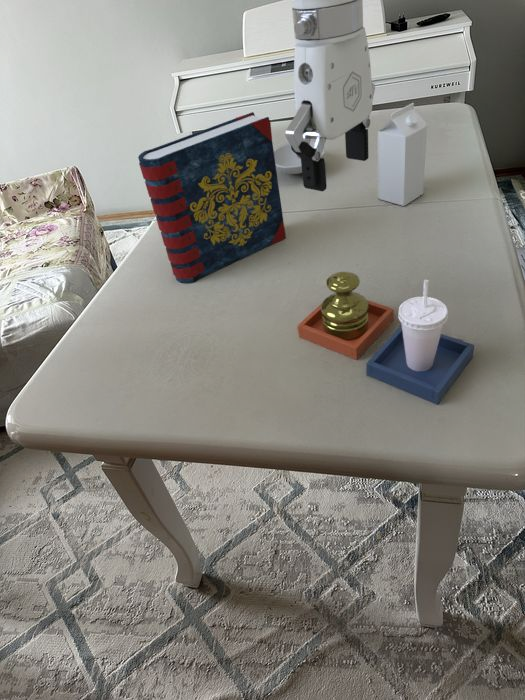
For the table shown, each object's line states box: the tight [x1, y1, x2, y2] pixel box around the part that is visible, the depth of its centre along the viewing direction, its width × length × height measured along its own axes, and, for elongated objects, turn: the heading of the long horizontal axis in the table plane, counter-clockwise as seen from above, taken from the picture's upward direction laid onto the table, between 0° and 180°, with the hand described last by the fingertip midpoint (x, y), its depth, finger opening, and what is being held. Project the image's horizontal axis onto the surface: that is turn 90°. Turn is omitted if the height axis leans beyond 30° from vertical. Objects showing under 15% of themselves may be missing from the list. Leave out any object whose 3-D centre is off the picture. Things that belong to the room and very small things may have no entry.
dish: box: [273, 139, 326, 175], centre depth 134 cm, size 18×14×5 cm
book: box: [137, 111, 287, 284], centre depth 100 cm, size 25×7×25 cm, turn 123°
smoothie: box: [397, 279, 449, 371], centre depth 71 cm, size 6×6×14 cm
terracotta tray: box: [297, 292, 395, 361], centre depth 84 cm, size 11×11×2 cm
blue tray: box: [365, 324, 475, 405], centre depth 75 cm, size 11×11×2 cm
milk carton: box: [377, 102, 428, 207], centre depth 110 cm, size 7×7×19 cm
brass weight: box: [320, 271, 369, 340], centre depth 81 cm, size 7×7×10 cm
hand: (336, 173), depth 68 cm, fingers open, 9 cm apart
